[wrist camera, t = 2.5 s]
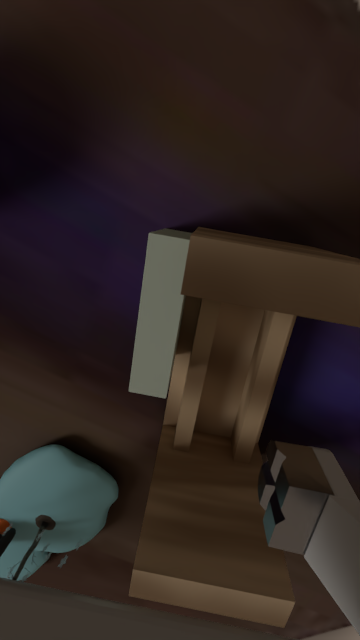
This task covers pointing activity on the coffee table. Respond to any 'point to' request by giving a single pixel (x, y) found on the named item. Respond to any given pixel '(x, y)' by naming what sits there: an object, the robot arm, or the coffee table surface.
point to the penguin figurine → (50, 507)
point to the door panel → (159, 312)
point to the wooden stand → (230, 421)
